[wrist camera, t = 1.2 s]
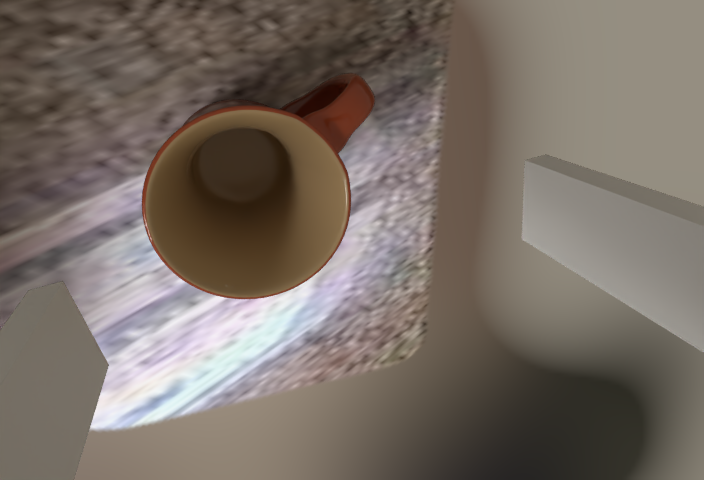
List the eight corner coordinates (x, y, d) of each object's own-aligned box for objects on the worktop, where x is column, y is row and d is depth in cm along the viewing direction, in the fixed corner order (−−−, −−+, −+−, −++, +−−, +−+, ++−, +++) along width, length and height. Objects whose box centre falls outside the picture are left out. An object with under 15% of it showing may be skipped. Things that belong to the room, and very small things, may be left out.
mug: (238, 245, 30) (253, 332, 21) (129, 154, 25) (89, 214, 16) (366, 125, 29) (438, 163, 20) (277, 11, 25) (319, -7, 16)
